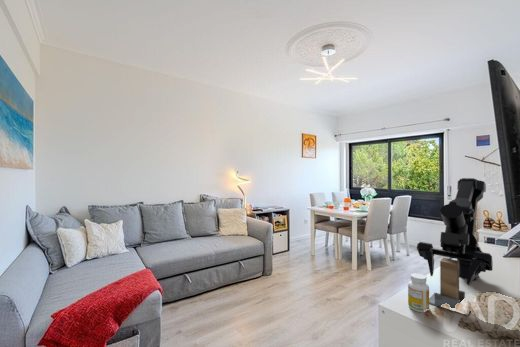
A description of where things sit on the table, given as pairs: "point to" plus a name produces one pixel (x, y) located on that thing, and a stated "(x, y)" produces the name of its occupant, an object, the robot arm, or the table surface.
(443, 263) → the brown wooden block
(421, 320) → the table surface
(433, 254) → the robot arm
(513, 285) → the table surface
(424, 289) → the supplement bottle
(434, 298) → the clip
